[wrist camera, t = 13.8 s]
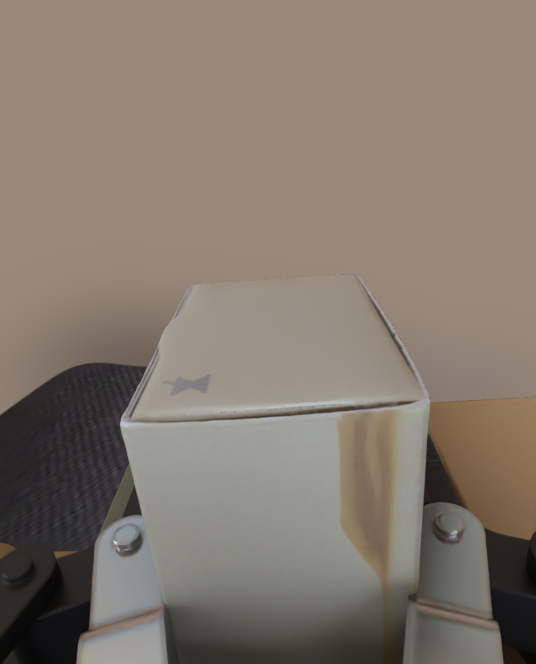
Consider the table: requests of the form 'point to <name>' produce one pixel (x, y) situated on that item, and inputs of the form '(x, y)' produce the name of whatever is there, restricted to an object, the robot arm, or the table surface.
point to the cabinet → (490, 459)
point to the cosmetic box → (282, 473)
